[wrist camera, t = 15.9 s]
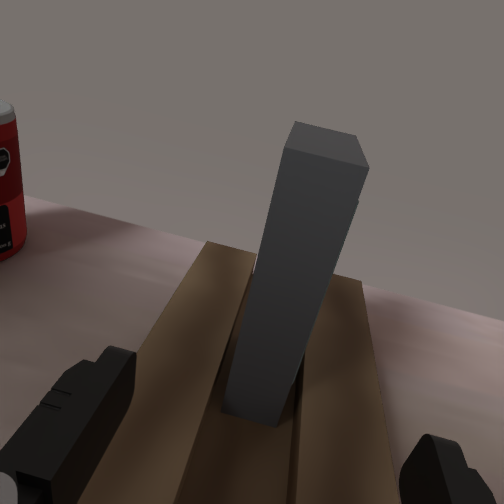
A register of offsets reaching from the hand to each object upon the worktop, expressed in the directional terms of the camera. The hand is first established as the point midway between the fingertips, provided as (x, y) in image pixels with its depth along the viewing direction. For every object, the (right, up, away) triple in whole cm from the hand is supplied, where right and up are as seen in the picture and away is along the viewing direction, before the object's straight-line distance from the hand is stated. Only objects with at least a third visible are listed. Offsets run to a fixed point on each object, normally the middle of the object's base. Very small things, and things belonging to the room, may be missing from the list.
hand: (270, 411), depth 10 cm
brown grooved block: (0, -4, +13) cm, 13 cm away
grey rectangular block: (0, -3, +12) cm, 12 cm away
